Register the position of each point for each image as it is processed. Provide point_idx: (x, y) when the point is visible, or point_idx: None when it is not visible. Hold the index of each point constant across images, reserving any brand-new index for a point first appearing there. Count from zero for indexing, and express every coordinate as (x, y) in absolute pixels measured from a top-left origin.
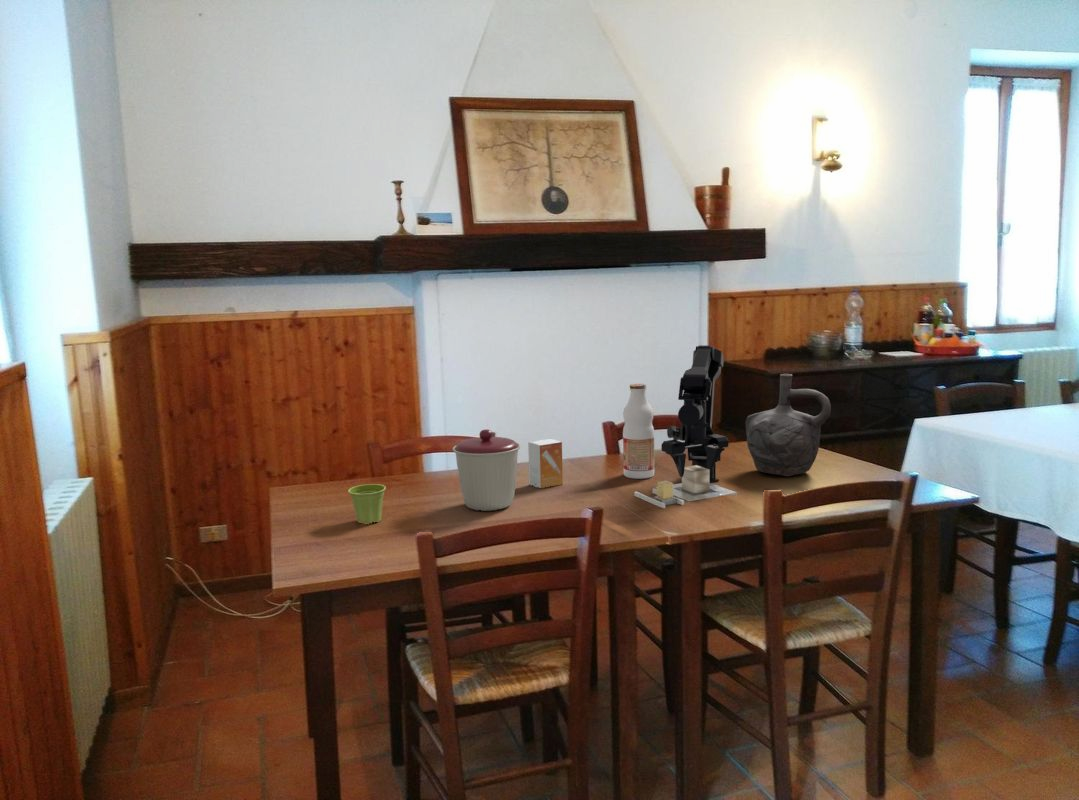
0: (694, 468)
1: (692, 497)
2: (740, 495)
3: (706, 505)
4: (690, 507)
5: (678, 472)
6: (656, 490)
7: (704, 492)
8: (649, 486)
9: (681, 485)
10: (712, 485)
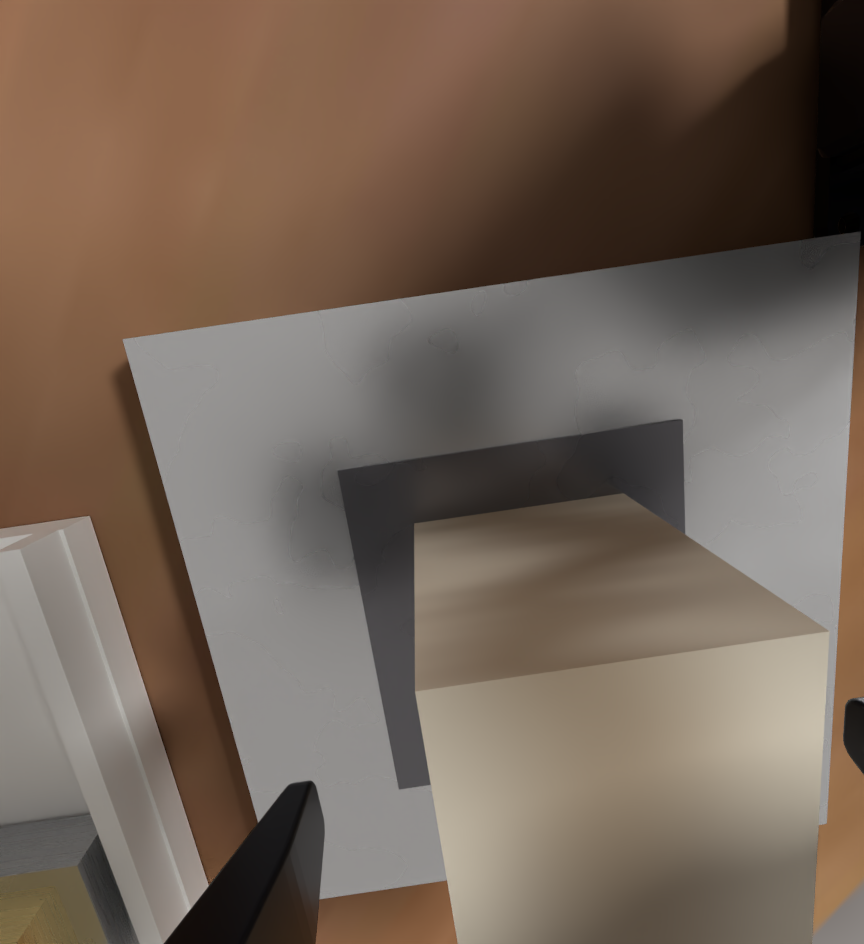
0: (615, 853)
1: (366, 830)
2: (849, 761)
3: (429, 901)
4: None
5: (248, 841)
6: (24, 632)
7: None
8: (163, 57)
9: (481, 388)
10: (797, 529)
